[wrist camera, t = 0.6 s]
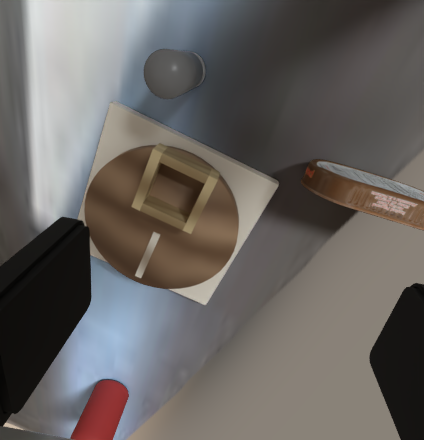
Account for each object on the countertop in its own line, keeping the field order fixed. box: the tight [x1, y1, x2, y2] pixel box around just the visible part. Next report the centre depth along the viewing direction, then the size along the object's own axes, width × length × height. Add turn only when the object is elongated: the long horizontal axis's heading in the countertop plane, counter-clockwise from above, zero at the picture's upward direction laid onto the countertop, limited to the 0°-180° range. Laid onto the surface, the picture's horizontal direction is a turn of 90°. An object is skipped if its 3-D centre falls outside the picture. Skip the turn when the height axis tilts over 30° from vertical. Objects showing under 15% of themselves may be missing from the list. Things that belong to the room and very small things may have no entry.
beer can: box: [71, 380, 129, 440], centre depth 55 cm, size 7×7×12 cm
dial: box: [84, 143, 239, 289], centre depth 38 cm, size 19×19×4 cm
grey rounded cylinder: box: [144, 49, 206, 99], centre depth 30 cm, size 4×4×10 cm
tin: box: [301, 159, 424, 230], centre depth 33 cm, size 15×3×8 cm, turn 75°
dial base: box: [77, 101, 279, 305], centre depth 41 cm, size 21×21×2 cm
